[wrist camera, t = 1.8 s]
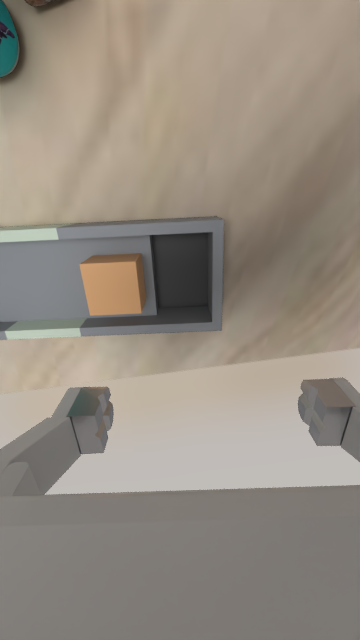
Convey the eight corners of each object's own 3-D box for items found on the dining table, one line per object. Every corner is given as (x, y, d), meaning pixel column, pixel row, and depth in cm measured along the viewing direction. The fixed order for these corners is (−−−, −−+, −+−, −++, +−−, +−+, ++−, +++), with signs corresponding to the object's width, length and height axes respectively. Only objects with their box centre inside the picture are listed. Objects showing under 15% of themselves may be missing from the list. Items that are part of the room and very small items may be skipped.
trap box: (216, 216, 28) (224, 219, 23) (215, 312, 32) (221, 330, 28) (-80, 231, 28) (-130, 237, 24) (-40, 323, 33) (-75, 343, 28)
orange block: (141, 253, 27) (135, 261, 23) (146, 299, 29) (141, 313, 25) (92, 255, 27) (79, 264, 23) (101, 301, 29) (90, 315, 25)
